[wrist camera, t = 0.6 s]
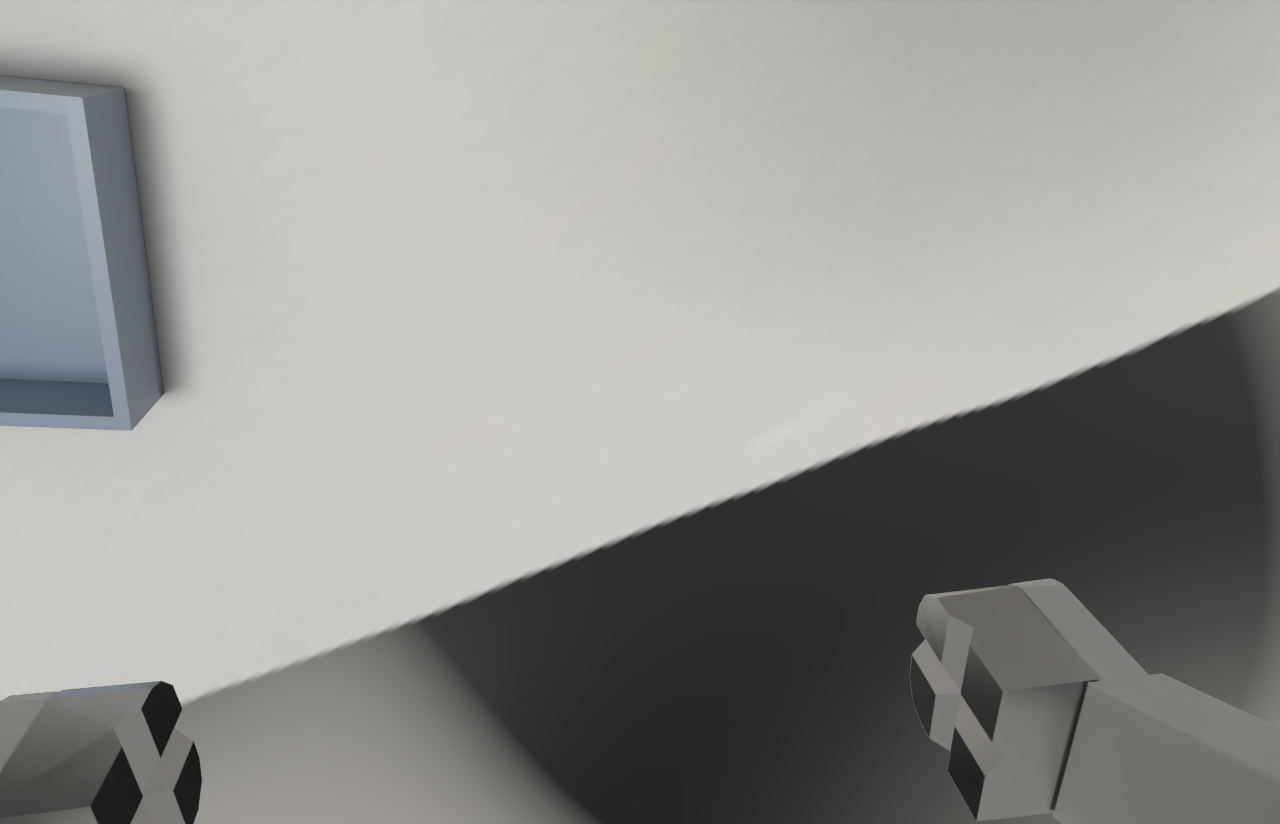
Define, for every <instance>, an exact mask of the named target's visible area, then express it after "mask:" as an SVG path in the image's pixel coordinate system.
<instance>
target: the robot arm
mask: <svg viewBox="0 0 1280 824" xmlns="http://www.w3.org/2000/svg"><path fill="white" fill-rule="evenodd" d="M916 624H917V626H918V627H919V629H920V631H921V632H922V634H923V635H924V637H925V641H924V642H923V643H922V644H921V645H920V646H919V647H918V648H917V649H916V650H915V652H914V653H913V654H912V659H911V670H910V684H911V691H912V697H913V703H914V706H915V708H916V711H917V714H918V716H919V720H920V722H921V723H922V725H923V727H924V729H925V731H926V733H927V735H928V737H929V738H930V739H932V740H933V741H935V742H936V743H938V744H939V745H941V746H943V747H944V748H946V749H947V750H949V751H950V757H949V764H948V772H949V774H950V776H951V777H952V779H953V781H954V783H955V785H956V786H957V788H958V790H959V792H960V793H961V795H962V797H963V799H964V801H965V802H966V804H967V806H968V807H969V809H970V811H971V813H972V815H973V816H974V818H975V820H976V821H984V820H992V819H1002V818H1011V817H1019V816H1028V815H1038V814H1046V813H1054V815H1053V817H1054V818H1055V819H1056V820H1058V821H1059V822H1061V823H1062V824H1280V728H1278V727H1275V726H1274V725H1271V724H1269V723H1267V722H1265V721H1263V720H1261V719H1258V718H1256V717H1254V716H1252V715H1250V714H1248V713H1246V712H1244V711H1241V710H1239V709H1237V708H1235V707H1233V706H1230V705H1228V704H1226V703H1224V702H1222V701H1220V700H1218V699H1216V698H1213V697H1211V696H1209V695H1207V694H1205V693H1203V692H1200V691H1198V690H1196V689H1194V688H1192V687H1190V686H1187V685H1185V684H1183V683H1181V682H1179V681H1177V680H1175V679H1173V678H1170V677H1168V676H1166V675H1164V674H1155V675H1148V674H1147V673H1146V672H1145V671H1144V670H1143V668H1142V667H1141V666H1140V665H1139V664H1138V663H1137V662H1136V661H1135V660H1134V659H1133V658H1132V657H1131V656H1130V655H1129V654H1128V653H1127V652H1126V650H1125V649H1124V648H1123V647H1122V646H1121V645H1120V644H1119V643H1118V642H1117V641H1116V640H1115V639H1114V638H1113V637H1112V635H1111V634H1110V633H1109V632H1108V631H1107V630H1106V629H1105V628H1104V627H1103V626H1102V625H1101V624H1100V623H1099V622H1098V621H1097V620H1096V619H1095V617H1094V616H1093V615H1092V614H1091V613H1090V612H1089V611H1088V610H1087V609H1086V608H1085V607H1084V606H1083V605H1082V604H1081V602H1080V601H1078V599H1077V598H1076V597H1075V596H1074V595H1073V594H1072V593H1071V592H1070V591H1069V590H1068V589H1067V588H1066V587H1065V586H1064V585H1063V584H1062V583H1060V582H1058V581H1056V580H1054V579H1044V580H1037V581H1029V582H1022V583H1014V584H1009V585H1008V586H998V587H990V588H982V589H973V590H964V591H956V592H948V593H939V594H931V595H925V596H924V598H923V600H922V602H921V603H920V605H919V609H918V616H917V622H916ZM181 711H182V707H181V704H180V702H179V699H178V697H177V695H176V692H175V690H174V687H173V685H171V684H168V683H165V682H163V681H158V682H146V683H135V684H124V685H113V686H102V687H91V688H80V689H69V690H62V691H60V692H46V693H35V694H24V695H13V696H9V697H7V698H6V699H4V700H2V701H0V824H193V823H194V821H195V818H196V815H197V812H198V809H199V800H200V792H201V784H202V776H201V767H200V759H199V755H198V752H197V749H196V746H195V744H194V741H193V740H191V739H190V738H189V737H187V736H186V735H184V734H183V733H181V732H180V731H178V730H177V729H175V728H174V727H175V725H176V722H177V720H178V718H179V716H180V713H181Z"/></svg>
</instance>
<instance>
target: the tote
mask: <svg viewBox="0 0 1280 824" xmlns="http://www.w3.org/2000/svg"><path fill="white" fill-rule="evenodd" d="M163 394H164V392H163V384H162V376H161V368H160V361H159V353H158V345H157V337H156V330H155V322H154V314H153V306H152V298H151V291H150V283H149V275H148V267H147V260H146V252H145V244H144V236H143V228H142V221H141V213H140V205H139V197H138V189H137V182H136V174H135V166H134V158H133V151H132V143H131V135H130V127H129V119H128V112H127V104H126V96H125V88H121V87H111V86H101V85H91V84H80V83H70V82H60V81H50V80H40V79H29V78H19V77H9V76H0V426H24V427H51V428H77V429H104V430H131V431H132V430H133V428H134V427H135V426H136V425H137V424H138V423H139V422H140V420H141V419H142V418H143V417H144V416H145V415H146V414H147V412H148V411H149V410H150V409H151V408H152V407H153V406H154V404H155V403H156V402H157V401H158V400H159V399H160V398H161V396H162V395H163Z"/></svg>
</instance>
